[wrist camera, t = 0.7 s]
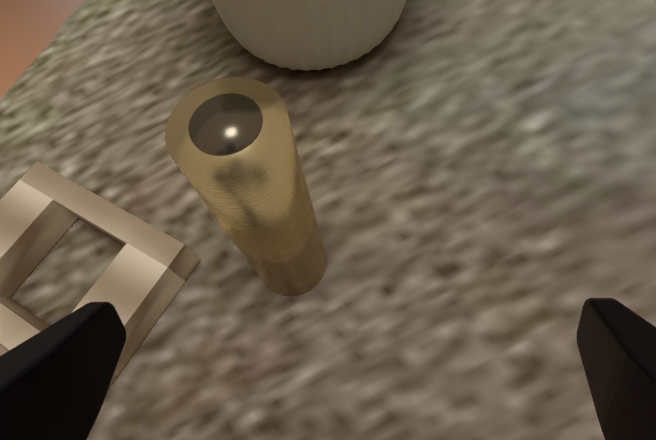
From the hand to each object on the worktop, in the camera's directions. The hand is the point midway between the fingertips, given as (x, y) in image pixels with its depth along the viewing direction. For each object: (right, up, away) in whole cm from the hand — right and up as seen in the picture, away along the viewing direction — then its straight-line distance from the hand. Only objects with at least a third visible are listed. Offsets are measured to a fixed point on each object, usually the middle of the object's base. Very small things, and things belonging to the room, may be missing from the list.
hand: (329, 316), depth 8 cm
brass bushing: (-2, -1, +17) cm, 18 cm away
